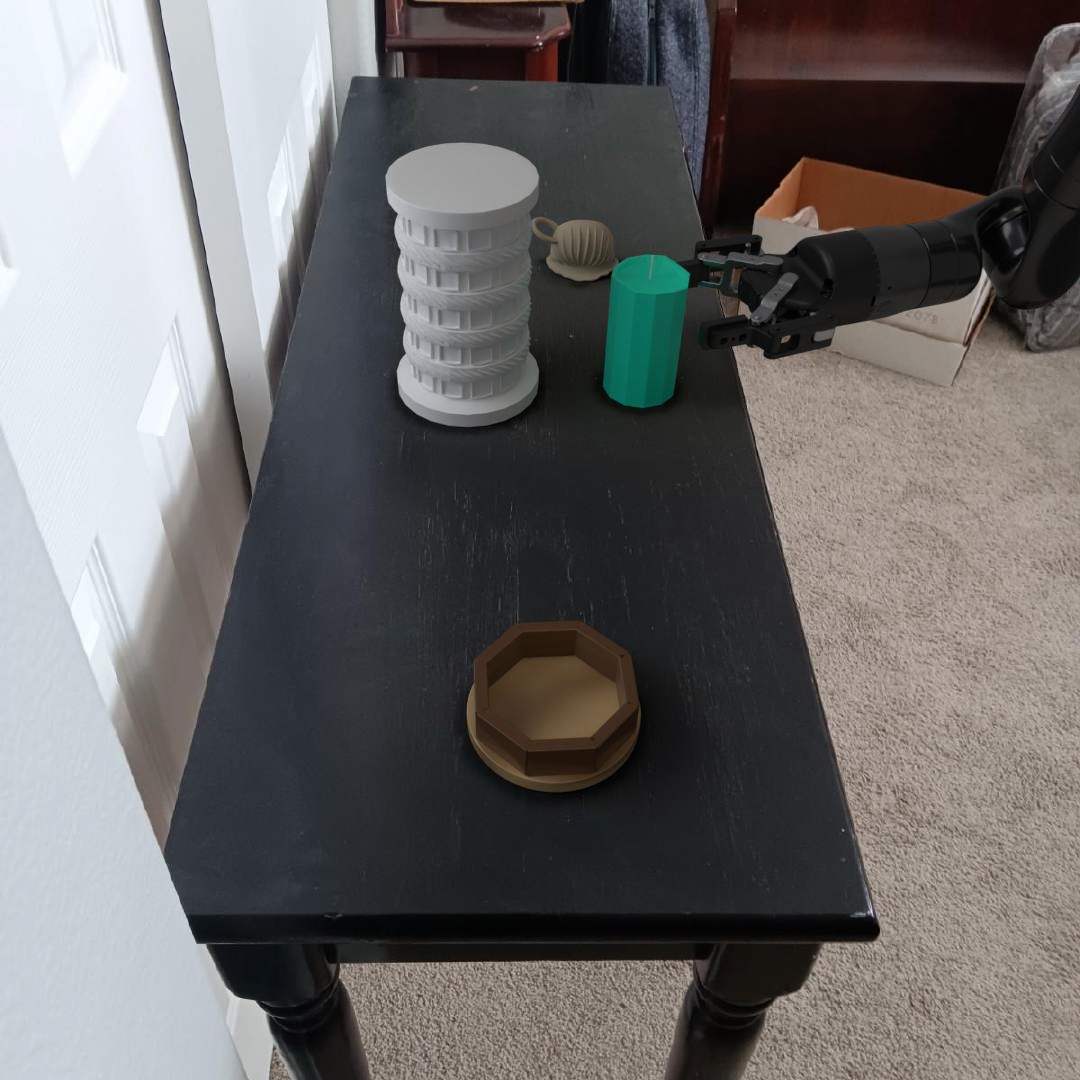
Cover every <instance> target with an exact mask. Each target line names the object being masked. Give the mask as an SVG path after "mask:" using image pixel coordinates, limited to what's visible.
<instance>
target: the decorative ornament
mask: <svg viewBox="0 0 1080 1080" xmlns="http://www.w3.org/2000/svg"><path fill="white" fill-rule="evenodd" d="M531 220H532V227H533V229H532V232H533V235H535V236H536V237H537V238H539V240H541V241H543V242H545V243H547V244H550V252H549V255H547V257H546V258H545V262H546V265H547V267H548V268H549V269H550V270H551V271H552V272H554V273H555V274H557V275H560V276H562V277H563V278H564V279H570V280H572V281H574V282H579V283H580V282H581V283H582V282H595V281H597V280H599V279H600V278H602V277H607V276H608V275H609V273H611V272H612V273H613V270H614V267H615V266H616V265H618V264H619V263H620V262H619V259H618V258H617V257H616V253H615V252H616V251H615V241H614V235H613V233H612V232H611V230H610V228H609V227H608V226H607V225H605V224H604V223H602V222H600V221H597V220H592V219H591V220H590V219H574V220H573V219H572V220H568V221H566V222H563V223H561V224H560V225H559V224H558V223H557V222H556V221H554V220H552V219H550V218H547V217H544V216H538V217H537V216H536V217H534V218H533V219H531ZM537 224H543V225H545V226H547V227H549V228H551V229H552V230H553V234H552V236H549V235H547V234H545V233H543V232H542V231H541V230H540V229H539V228H538V227H537Z"/></svg>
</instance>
